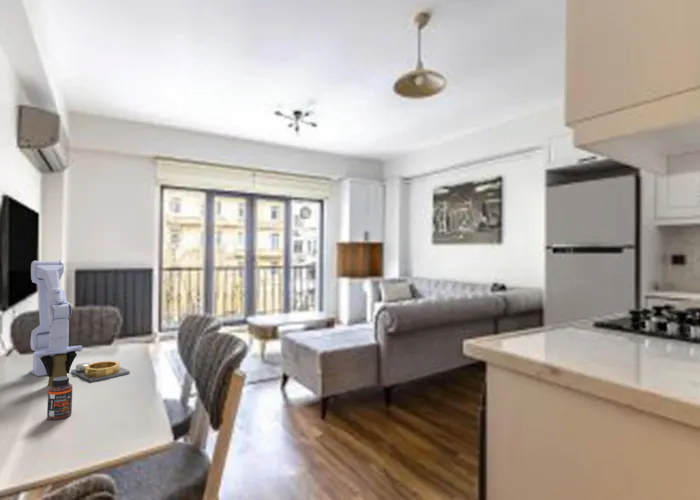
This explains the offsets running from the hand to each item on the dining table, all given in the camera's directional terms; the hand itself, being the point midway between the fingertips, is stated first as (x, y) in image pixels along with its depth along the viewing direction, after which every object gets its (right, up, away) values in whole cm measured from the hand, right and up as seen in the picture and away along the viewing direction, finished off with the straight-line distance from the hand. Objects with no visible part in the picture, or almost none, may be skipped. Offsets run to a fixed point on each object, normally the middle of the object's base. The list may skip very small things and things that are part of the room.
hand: (58, 374), depth 147 cm
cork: (0, -4, 0) cm, 4 cm away
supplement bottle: (+20, -4, -27) cm, 34 cm away
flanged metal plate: (+7, -4, +13) cm, 16 cm away
